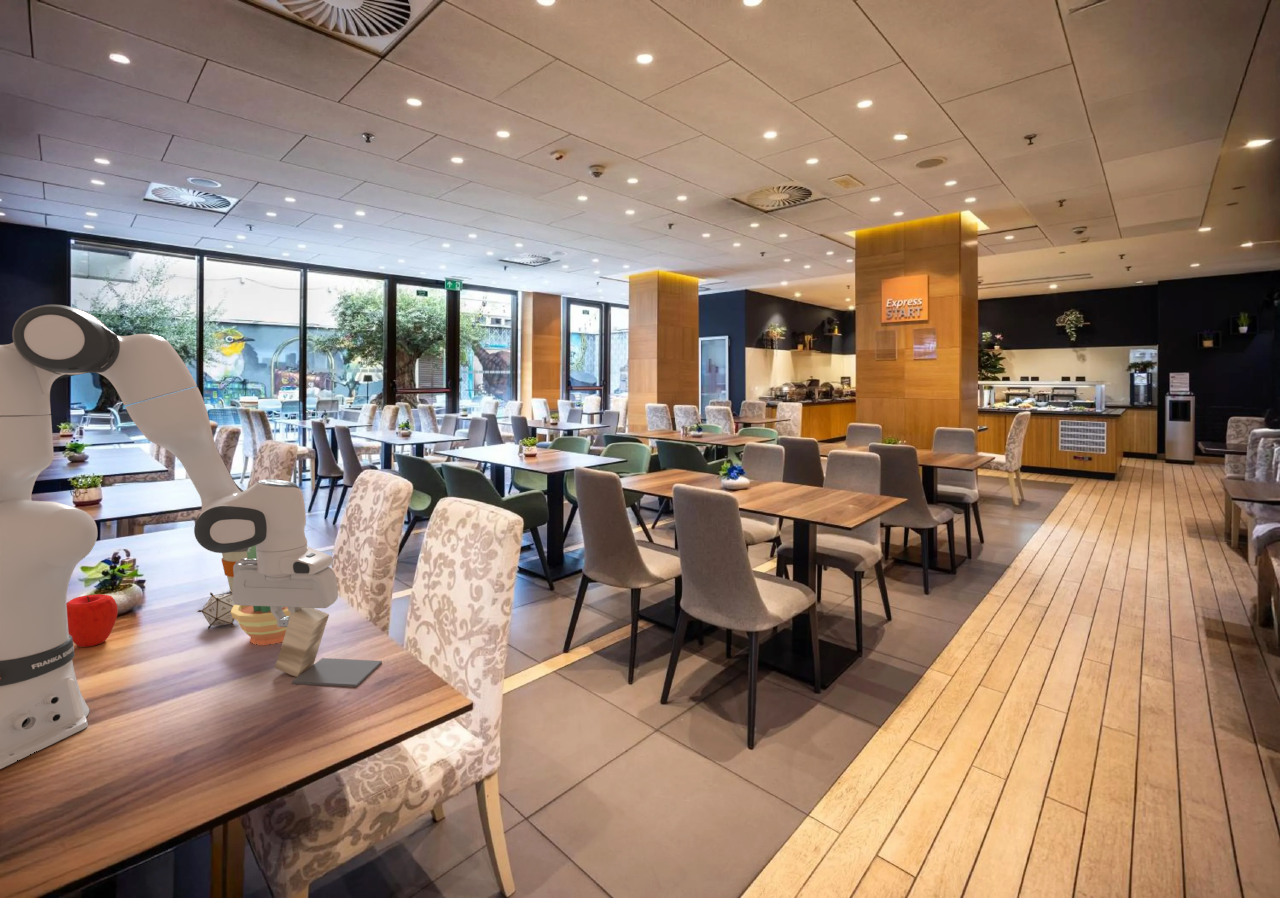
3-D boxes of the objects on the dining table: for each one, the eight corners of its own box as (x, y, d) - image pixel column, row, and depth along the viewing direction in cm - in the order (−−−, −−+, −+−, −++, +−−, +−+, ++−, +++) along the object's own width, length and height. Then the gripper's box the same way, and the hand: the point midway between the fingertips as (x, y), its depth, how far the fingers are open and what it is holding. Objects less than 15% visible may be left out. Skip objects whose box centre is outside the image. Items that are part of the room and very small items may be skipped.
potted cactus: (326, 629, 144) (321, 526, 142) (267, 656, 130) (260, 542, 127) (277, 619, 149) (271, 520, 147) (215, 645, 135) (208, 535, 132)
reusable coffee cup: (231, 582, 175) (228, 532, 174) (280, 579, 179) (277, 529, 177) (215, 597, 164) (211, 543, 162) (268, 593, 167) (265, 540, 166)
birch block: (297, 677, 121) (313, 624, 119) (274, 668, 121) (290, 614, 120) (313, 665, 126) (329, 614, 124) (291, 656, 126) (306, 605, 125)
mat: (356, 687, 118) (356, 684, 118) (292, 683, 119) (292, 681, 118) (381, 663, 128) (381, 660, 127) (322, 660, 128) (322, 658, 128)
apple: (126, 632, 141) (122, 587, 140) (107, 648, 133) (102, 601, 131) (79, 637, 138) (75, 591, 137) (56, 654, 130) (51, 605, 129)
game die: (225, 643, 145) (214, 620, 138) (196, 627, 146) (184, 604, 139) (256, 614, 151) (247, 591, 145) (228, 599, 152) (218, 576, 146)
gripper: (221, 563, 119) (226, 630, 121) (322, 566, 118) (325, 634, 119) (244, 553, 125) (248, 618, 127) (340, 556, 124) (343, 621, 125)
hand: (287, 626), depth 123 cm, fingers closed
